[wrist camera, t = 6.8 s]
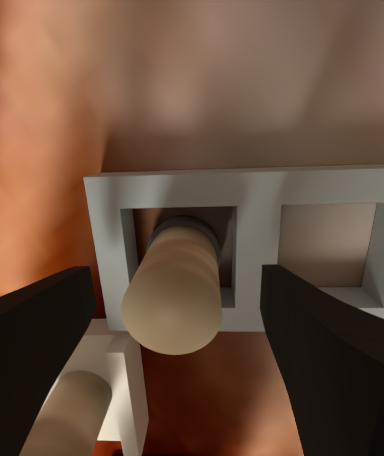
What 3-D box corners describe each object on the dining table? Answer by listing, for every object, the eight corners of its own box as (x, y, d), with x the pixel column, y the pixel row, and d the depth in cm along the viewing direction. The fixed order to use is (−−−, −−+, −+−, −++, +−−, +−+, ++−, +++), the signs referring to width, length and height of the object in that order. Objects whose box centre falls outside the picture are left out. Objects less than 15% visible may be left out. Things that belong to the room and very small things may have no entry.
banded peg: (227, 224, 14) (241, 278, 9) (210, 285, 15) (212, 368, 10) (156, 208, 14) (123, 251, 8) (145, 271, 15) (109, 346, 10)
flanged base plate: (149, 419, 19) (139, 463, 17) (-28, 414, 20) (-64, 456, 17) (136, 318, 16) (123, 352, 14) (-69, 318, 17) (-119, 350, 15)
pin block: (382, 309, 15) (407, 332, 13) (120, 308, 16) (108, 330, 14) (416, 162, 13) (453, 166, 11) (100, 172, 14) (83, 177, 12)
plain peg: (118, 415, 17) (75, 549, 11) (60, 413, 17) (-10, 545, 12) (110, 368, 16) (58, 493, 10) (48, 367, 16) (-37, 489, 10)
